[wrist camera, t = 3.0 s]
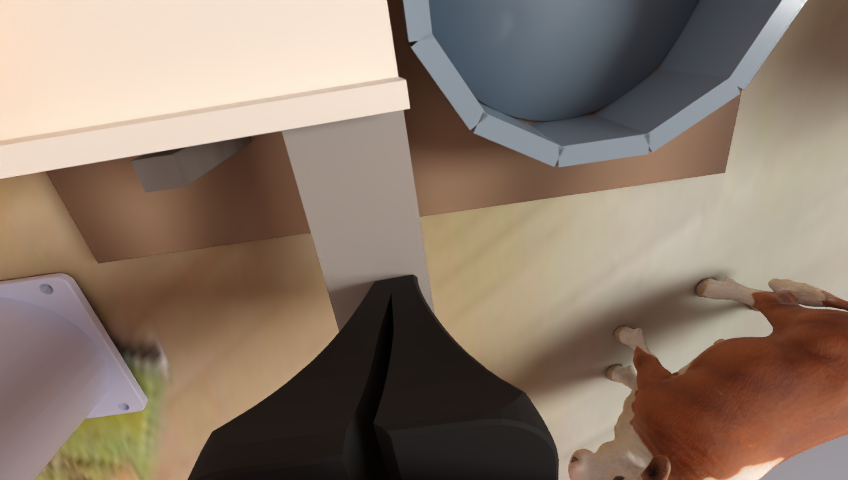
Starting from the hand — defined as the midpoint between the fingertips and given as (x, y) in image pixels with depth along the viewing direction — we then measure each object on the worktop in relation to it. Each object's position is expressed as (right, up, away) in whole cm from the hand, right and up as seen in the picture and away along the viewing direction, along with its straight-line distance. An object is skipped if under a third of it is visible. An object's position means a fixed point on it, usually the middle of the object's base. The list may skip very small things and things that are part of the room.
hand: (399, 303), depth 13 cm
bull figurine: (+13, -3, +8) cm, 15 cm away
